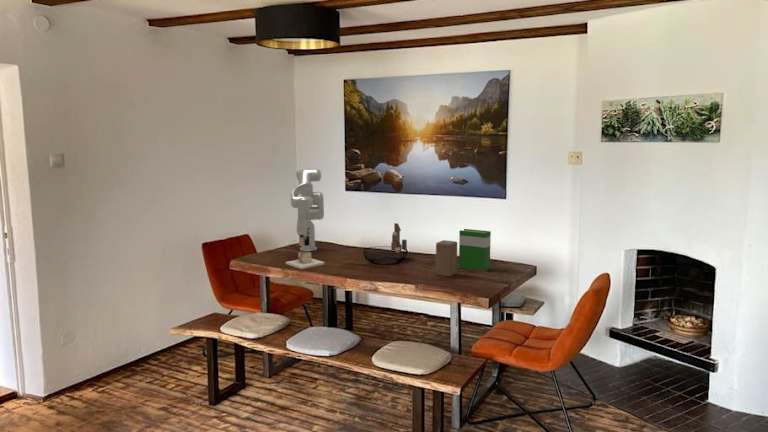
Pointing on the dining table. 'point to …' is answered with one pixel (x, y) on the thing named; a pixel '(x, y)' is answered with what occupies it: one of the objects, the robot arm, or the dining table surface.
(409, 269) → the dining table surface
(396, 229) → the wooden toy
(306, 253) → the maple block
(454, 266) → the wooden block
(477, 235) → the green cereal box
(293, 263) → the plate
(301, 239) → the terracotta block
